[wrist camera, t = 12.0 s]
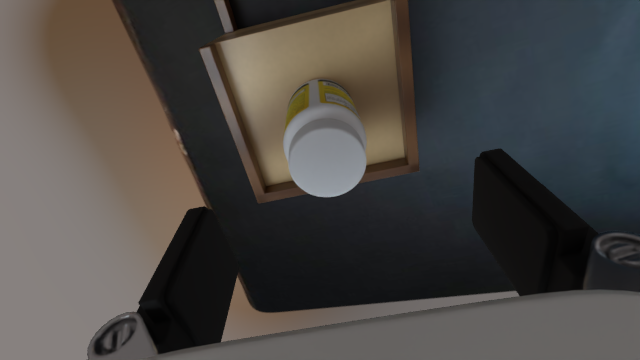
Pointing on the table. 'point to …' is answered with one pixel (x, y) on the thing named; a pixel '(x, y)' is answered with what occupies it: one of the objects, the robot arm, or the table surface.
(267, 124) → the shelf rack
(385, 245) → the table surface
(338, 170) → the supplement bottle
